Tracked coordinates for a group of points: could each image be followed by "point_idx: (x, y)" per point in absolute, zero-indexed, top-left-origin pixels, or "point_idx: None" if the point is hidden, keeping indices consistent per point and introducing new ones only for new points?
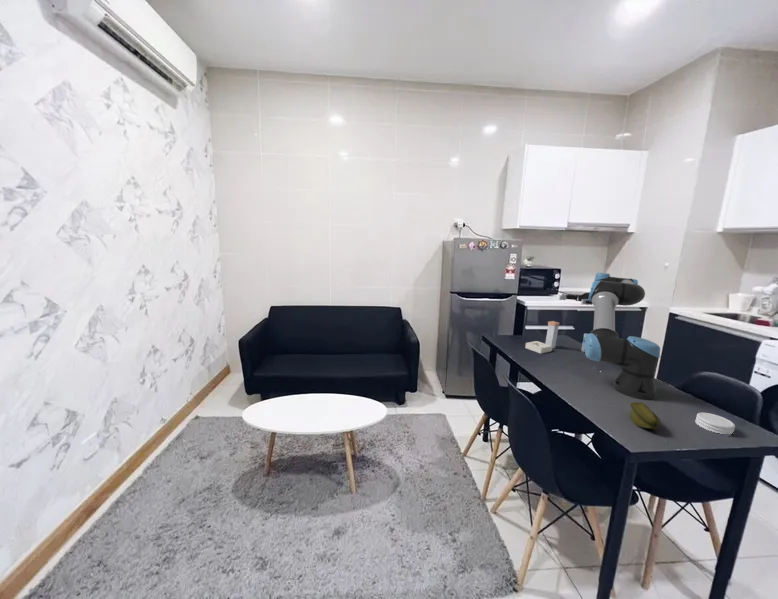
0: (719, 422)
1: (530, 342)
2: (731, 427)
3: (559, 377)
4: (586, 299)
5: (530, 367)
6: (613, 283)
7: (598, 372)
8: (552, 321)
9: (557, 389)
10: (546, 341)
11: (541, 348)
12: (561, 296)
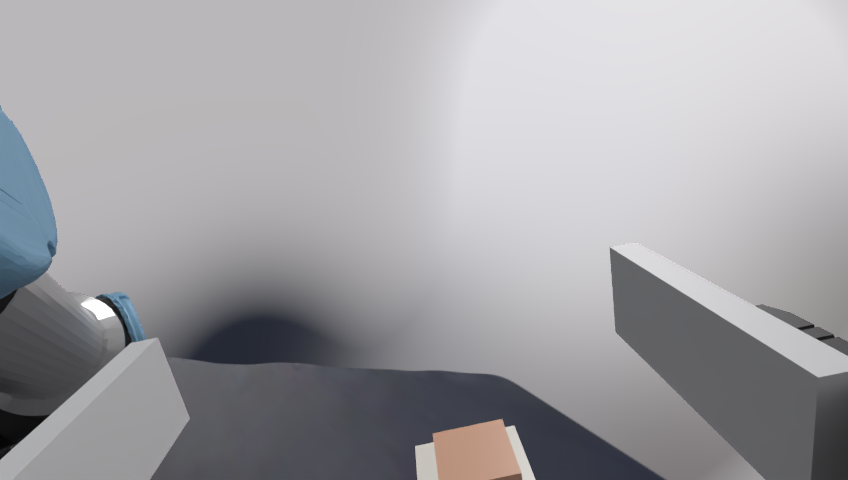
0: None
1: (517, 450)
2: None
3: (251, 407)
4: (25, 448)
5: (349, 378)
6: None
7: None
8: (501, 456)
9: (230, 367)
10: None
11: (415, 447)
12: (632, 282)
